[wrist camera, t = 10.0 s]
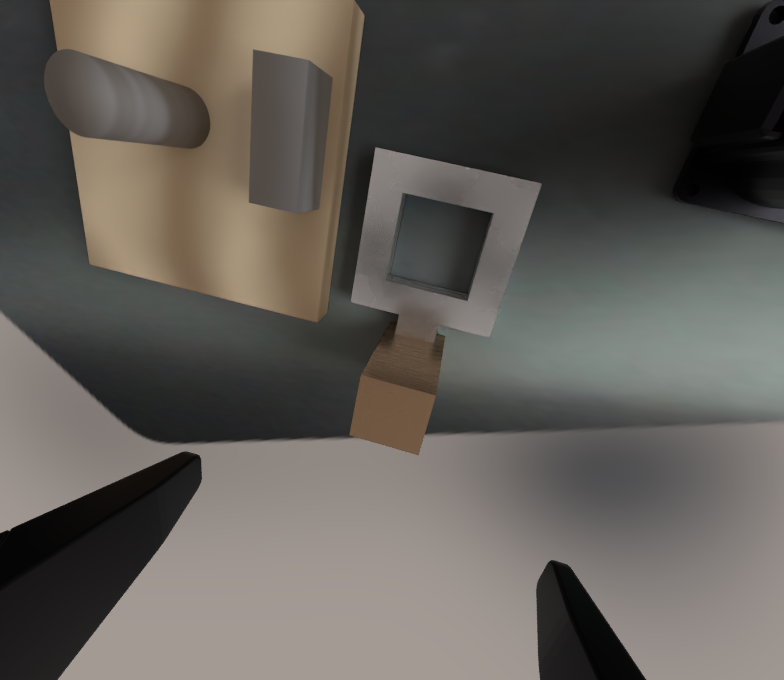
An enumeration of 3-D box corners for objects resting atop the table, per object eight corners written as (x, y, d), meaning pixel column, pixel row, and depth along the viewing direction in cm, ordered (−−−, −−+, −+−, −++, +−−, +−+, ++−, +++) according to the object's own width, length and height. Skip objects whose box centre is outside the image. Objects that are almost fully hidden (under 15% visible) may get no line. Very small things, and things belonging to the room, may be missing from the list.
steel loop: (537, 182, 16) (571, 185, 11) (466, 393, 21) (465, 468, 16) (381, 149, 17) (340, 135, 12) (346, 360, 22) (304, 422, 16)
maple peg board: (364, 15, 15) (298, -88, 9) (327, 313, 21) (270, 366, 15) (76, -35, 16) (-144, -155, 10) (113, 259, 22) (-18, 288, 16)
